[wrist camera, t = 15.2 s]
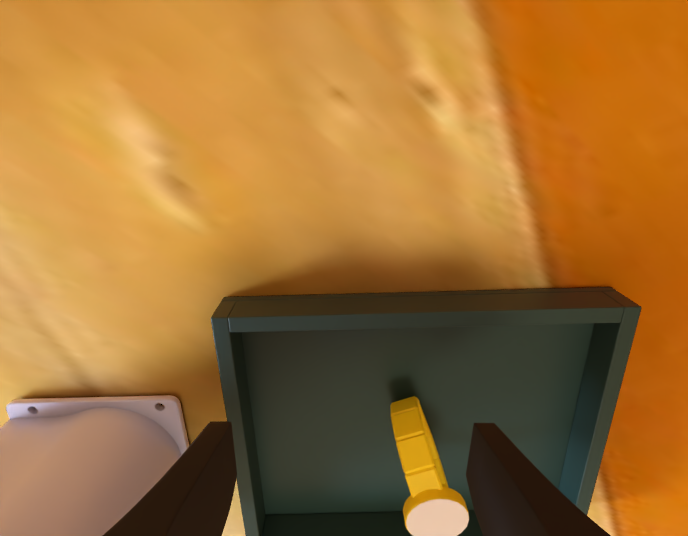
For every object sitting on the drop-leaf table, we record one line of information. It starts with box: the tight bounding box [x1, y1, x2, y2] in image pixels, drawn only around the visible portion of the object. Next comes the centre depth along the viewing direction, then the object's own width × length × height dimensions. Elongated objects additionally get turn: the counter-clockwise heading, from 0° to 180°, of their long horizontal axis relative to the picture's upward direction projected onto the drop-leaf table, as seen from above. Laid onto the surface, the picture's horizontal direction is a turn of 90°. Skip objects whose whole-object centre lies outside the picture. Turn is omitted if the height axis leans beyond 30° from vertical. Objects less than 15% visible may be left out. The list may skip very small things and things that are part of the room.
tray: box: [211, 287, 641, 536], centre depth 22 cm, size 20×16×2 cm
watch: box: [390, 396, 469, 536], centre depth 20 cm, size 6×3×6 cm, turn 20°
